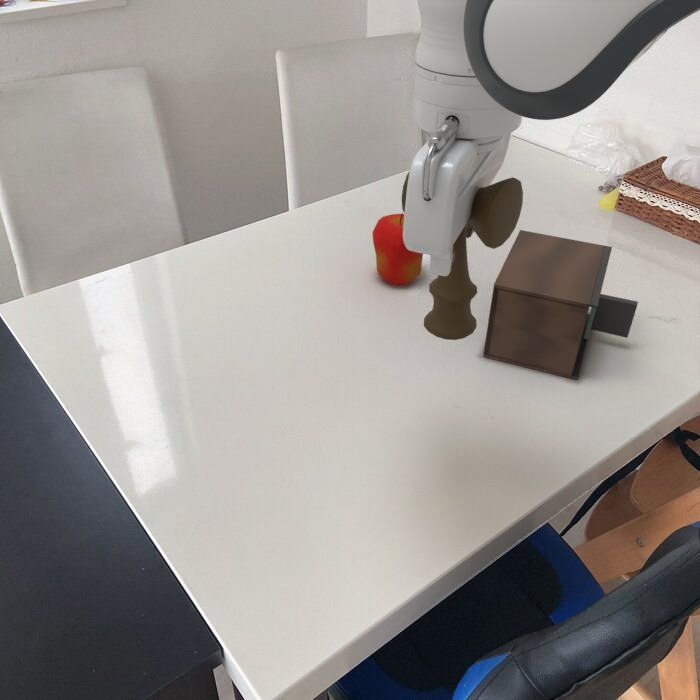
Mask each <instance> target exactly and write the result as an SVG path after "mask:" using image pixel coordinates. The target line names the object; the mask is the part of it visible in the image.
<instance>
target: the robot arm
mask: <svg viewBox="0 0 700 700" xmlns="http://www.w3.org/2000/svg"><path fill="white" fill-rule="evenodd" d="M417 5H418V11H419V14H420V33H419V39H418V42H417V45H416V47H415V51H414V56H413V57H414V58H413V59H414V61H413V82H412V101H411V102H412V103H411V104H412V105H411V120H412V122H413V124H414V125H415V126H416V127H417V128H419V129H420V130H422V131H424V132H425V141H426V142H425V143H424V144H423V146H421V148H420V149H419V150H418V151H417V152H416V154H415V155H414V157H413V159H412V162H411V164H410V168H409V171H410V173H409V172H408V173H409V178H408V185H407V193H406V203H405V214H404V213H403V214H404V225H403V241H404V244H405V246H406V248H407V249H408V250H410V251H413V252H418V253H422V254H423V255H428V256H429V257H430V260H429V272H430V273H431V274H433V275H436V276H438V275H440V276H448V275H449V273H450V272H451V270H452V268H453V266H454V258H455V252H453V244H454V243H455V241H456V239H457V238H458V236H459V235H460V233H461V231H462V230H463V228H464V226H465V225H466V239H469V238H471V237H472V236H473V234H474V233H475V231H474V230H473V229H472V228H471V226H470V225H469V224H468V223H467V222H468V220H469V218H470V215H471V211H472V205H473V201H474V198H475V195H476V193H477V191H478V190H479V188H481V187H487V186H490V185H492V183H493V181H494V180H495V178H496V177H497V175H498V173H499V172H500V170H501V168H502V166H503V164H504V162H505V158H506V156H507V152H508V148H509V144H510V140H511V135H512V133H513V132H514V131H516V130H517V129H518V128H520V126H521V124H522V121H523V118H527V119H531V120H537V121H550V120H551V121H552V120H559V119H564V118H567V117H570V116H572V115H575V114H577V113H581V112H582V111H584V110H585V109H586V108H588V107H590V106H591V105H592V104H594V103H595V102H597V101H598V100H599V99H600V98H601V97H602V96H603V95H604V94H605V93H606V92H607V91H608V90H609V89H610V88H611V87H612V86H613V85H614V83H615V82H617V80H618V79H619V78H620V77H621V75H622V74H623V73H624V72H625V71H626V70H628V68H630V66H632V65H633V64H634V63H635V62H637V61H638V60H639V59H640V58H641V57H642V56H643V55H645V54H646V52H648V51H649V50H650V49H651V48H653V46H654V45H655V44H657V43H658V41H659V40H660V39H661V38H662V37H663V36H664V35H665V34H666V33H667V31H669V29H671V28H673V27H674V26H676V24H677V25H678V23H680V22H681V21H683V20H685V19H687V18H688V17H690V16H692V15H694V14H695V13H698V12H699V11H700V0H417Z"/></svg>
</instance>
